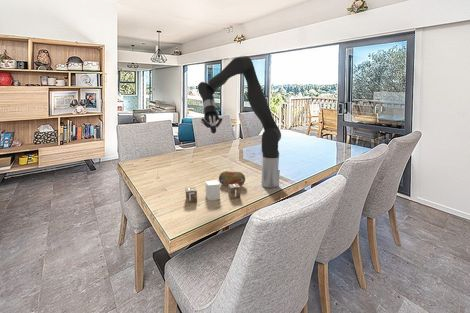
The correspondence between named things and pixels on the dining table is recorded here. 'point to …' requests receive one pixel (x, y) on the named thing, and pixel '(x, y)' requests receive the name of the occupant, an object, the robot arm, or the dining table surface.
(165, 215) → the dining table surface
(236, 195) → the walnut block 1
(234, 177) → the tin
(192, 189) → the walnut block
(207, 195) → the plain block
